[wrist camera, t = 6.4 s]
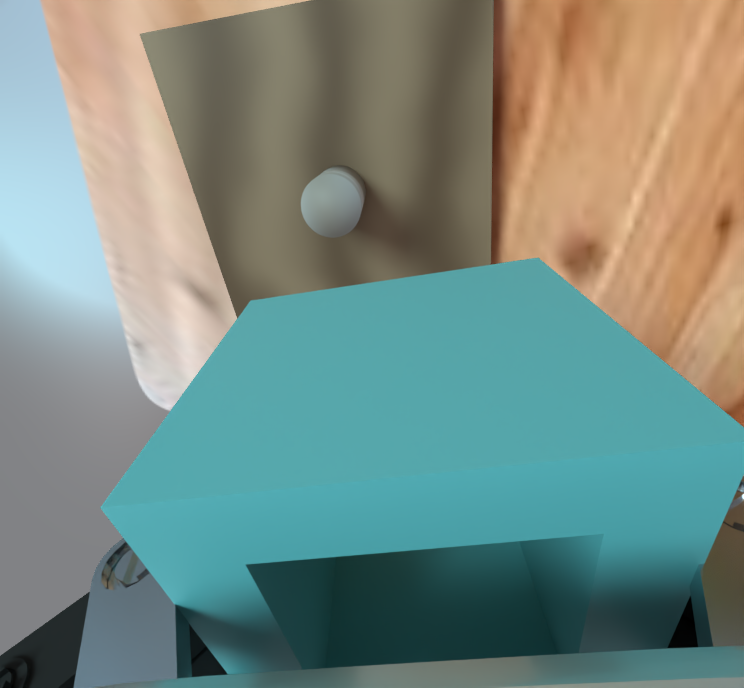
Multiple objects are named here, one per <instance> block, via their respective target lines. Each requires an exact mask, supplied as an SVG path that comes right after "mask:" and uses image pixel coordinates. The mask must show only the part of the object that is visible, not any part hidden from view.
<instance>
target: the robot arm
mask: <svg viewBox="0 0 744 688" xmlns="http://www.w3.org/2000/svg"><path fill="white" fill-rule="evenodd" d="M689 587H690V594H691V595H690V598H689V600H688V602H687V604H686V607H685V609H684V611H683V613H682V616H681V618H680V620H679V622H678V625H677V627H676V629H675V632H674V634H673V636H672V638H671V641H670V643H669V645H668V647H667V648H663V649H649V650H630V651H612V652H594V653H575V654H557V655H539V656H521V657H503V658H486V659H469V660H453V661H436V662H419V663H403V664H386V665H370V666H353V667H337V668H322V669H306V670H291V671H276V672H261V673H245V674H230V675H229V674H227V672H226V671H225V670H224V668H223V667H222V666H221V664H220V663H219V662H218V661H217V659H216V658H215V657H214V655H213V654H212V653H211V651H210V650H209V649H208V647H207V646H206V645H205V644H204V642H203V641H202V640H201V638H200V637H199V636H198V634H197V633H196V632H195V631H194V629H193V628H192V627H191V625H190V624H189V622H188V620H187V619H186V618H185V617H184V615H183V614H182V613H181V611H180V610H179V609H178V607H177V606H176V605H175V604H174V603H173V602H172V601H171V599H170V598H169V597H168V595H167V594H166V593H165V591H164V590H163V589H162V587H161V586H160V585H159V584H158V582H157V581H156V580H155V578H154V577H153V576H152V574H151V573H150V572H149V571H148V569H147V568H146V567H145V565H144V564H143V563H142V561H141V560H140V559H139V557H138V556H137V555H136V554H135V552H134V551H133V550H132V548H131V547H130V546H129V544H128V543H127V542H126V541H125V539H124V538H123V539H122V540H120V541H119V542H118V543H116V544H115V545H114V546H113V547H112V548H111V549H110V550H109V551H108V552H107V553H106V555H104V557H103V558H102V560H101V561H100V563H99V564H98V566H97V567H96V570H95V572H94V576H93V579H92V583H91V589H90V592H89V593H87V594H86V595H84V596H83V597H82V598H80V599H79V600H77V601H76V602H75V603H73V604H72V605H71V606H69V607H68V608H66V609H65V610H64V611H62V612H61V613H59V614H58V615H57V616H55V617H54V618H52V619H51V620H50V621H48V622H47V623H45V624H44V625H43V626H41V627H40V628H39V629H37V630H36V631H34V632H33V633H32V634H30V635H29V636H27V637H26V638H24V639H23V640H22V641H20V642H19V643H18V644H16V645H15V646H13V647H12V648H11V649H9V650H8V651H6V652H5V653H4V654H2V655H1V656H0V688H744V476H743V477H742V480H741V482H740V484H739V486H738V489H737V491H736V493H735V495H734V498H733V500H732V502H731V504H730V507H729V509H728V511H727V514H726V516H725V518H724V520H723V523H722V525H721V527H720V529H719V532H718V534H717V536H716V539H715V541H714V543H713V545H712V548H711V550H710V552H709V554H708V557H707V559H706V561H705V563H704V564H699V565H698V567H697V570H696V572H695V574H694V577H693V579H692V581H691V584H690V586H689Z"/></svg>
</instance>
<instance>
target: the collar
mask: <svg viewBox="0 0 744 688" xmlns="http://www.w3.org/2000/svg"><path fill="white" fill-rule="evenodd" d="M743 475H744V427H743V426H741V425H740V424H739V423H738V422H737V421H735V420H734V419H733V418H732V417H731V416H729V415H728V414H727V413H726V412H724V411H723V410H722V409H721V408H720V407H718V406H717V405H716V404H715V403H714V402H712V401H711V400H710V399H709V398H708V397H706V396H705V395H704V394H703V393H701V392H700V391H699V390H698V389H697V388H695V387H694V386H693V385H692V384H691V383H689V382H688V381H687V380H686V379H684V378H683V377H682V376H681V375H680V374H678V373H677V372H676V371H675V370H674V369H672V368H671V367H670V366H669V365H668V364H666V363H665V362H664V361H663V360H661V359H660V358H659V357H658V356H657V355H655V354H654V353H653V352H652V351H651V350H649V349H648V348H647V347H646V346H644V345H643V344H642V343H641V342H640V341H638V340H637V339H636V338H635V337H634V336H632V335H631V334H630V333H629V332H628V331H626V330H625V329H624V328H623V327H621V326H620V325H619V324H618V323H617V322H615V321H614V320H613V319H612V318H611V317H609V316H608V315H607V314H606V313H604V312H603V311H602V310H601V309H600V308H598V307H597V306H596V305H595V304H594V303H592V302H591V301H590V300H589V299H588V298H586V297H585V296H584V295H583V294H581V293H580V292H579V291H578V290H577V289H575V288H574V287H573V286H572V285H571V284H569V283H568V282H567V281H566V280H564V279H563V278H562V277H561V276H560V275H558V274H557V273H556V272H555V271H554V270H552V269H551V268H550V267H549V266H548V265H546V264H545V263H544V262H543V261H541V260H540V259H539V258H532V259H526V260H519V261H512V262H506V263H499V264H492V265H486V266H479V267H472V268H465V269H459V270H452V271H445V272H439V273H432V274H425V275H419V276H412V277H405V278H399V279H392V280H385V281H379V282H372V283H365V284H358V285H352V286H345V287H338V288H332V289H325V290H318V291H312V292H305V293H298V294H292V295H285V296H278V297H272V298H265V299H258V300H252V301H250V302H249V303H248V305H247V306H246V308H245V309H244V310H243V312H242V313H241V314H240V316H239V317H238V319H237V320H236V321H235V323H234V324H233V326H232V327H231V328H230V330H229V331H228V332H227V334H226V335H225V337H224V338H223V339H222V341H221V342H220V343H219V345H218V346H217V348H216V349H215V350H214V352H213V353H212V354H211V356H210V357H209V359H208V360H207V361H206V363H205V364H204V366H203V367H202V368H201V370H200V371H199V372H198V374H197V375H196V377H195V378H194V379H193V381H192V382H191V383H190V385H189V386H188V388H187V389H186V390H185V392H184V393H183V394H182V396H181V397H180V399H179V400H178V401H177V403H176V404H175V405H174V407H173V408H172V410H171V411H170V412H169V414H168V415H167V417H166V418H165V419H164V421H163V422H162V424H161V425H160V426H159V428H158V429H157V430H156V432H155V433H154V435H153V436H152V437H151V439H150V440H149V442H148V443H147V444H146V446H145V447H144V448H143V450H142V451H141V452H140V454H139V455H138V457H137V458H136V459H135V461H134V462H133V463H132V465H131V466H130V468H129V469H128V470H127V472H126V473H125V474H124V476H123V477H122V479H121V480H120V481H119V483H118V484H117V486H116V487H115V488H114V490H113V491H112V492H111V494H110V495H109V496H108V498H107V499H106V501H105V502H104V503H103V505H102V506H101V509H102V510H103V512H104V513H105V514H106V516H107V517H108V518H109V520H110V521H111V522H112V524H113V525H114V526H115V527H116V529H117V530H118V531H119V532H120V534H121V535H122V537H123V538H124V539H125V541H126V542H127V543H128V544H129V546H130V547H131V548H132V550H133V551H134V552H135V554H136V555H137V556H138V557H139V559H140V560H141V561H142V563H143V564H144V565H145V567H146V568H147V569H148V571H149V572H150V573H151V574H152V576H153V577H154V578H155V580H156V581H157V582H158V584H159V585H160V586H161V587H162V589H163V590H164V591H165V593H166V594H167V595H168V597H169V598H170V599H171V601H172V602H173V603H174V604H175V605H176V606H177V607H178V609H179V610H180V611H181V613H182V614H183V615H184V617H185V618H186V619H187V620H188V622H189V624H190V625H191V627H192V628H193V629H194V631H195V632H196V633H197V634H198V636H199V637H200V638H201V640H202V641H203V642H204V644H205V645H206V646H207V647H208V649H209V650H210V651H211V653H212V654H213V655H214V657H215V658H216V659H217V661H218V662H219V663H220V664H221V666H222V667H223V668H224V670H225V671H226V672H227V674H229V675H230V674H245V673H261V672H276V671H291V670H306V669H322V668H337V667H353V666H370V665H386V664H403V663H419V662H436V661H453V660H469V659H486V658H503V657H521V656H539V655H557V654H575V653H594V652H612V651H630V650H649V649H663V648H667V647H668V645H669V643H670V641H671V638H672V636H673V634H674V632H675V629H676V627H677V625H678V622H679V620H680V618H681V616H682V613H683V611H684V609H685V607H686V604H687V602H688V600H689V598H690V595H691V594H690V587H689V586H690V584H691V581H692V579H693V577H694V574H695V572H696V570H697V567H698V565H699V564H704V563H705V561H706V559H707V557H708V554H709V552H710V550H711V548H712V545H713V543H714V541H715V539H716V536H717V534H718V532H719V529H720V527H721V525H722V523H723V520H724V518H725V516H726V514H727V511H728V509H729V507H730V504H731V502H732V500H733V498H734V495H735V493H736V491H737V489H738V486H739V484H740V482H741V480H742V477H743Z"/></svg>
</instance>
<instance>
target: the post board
mask: <svg viewBox="0 0 744 688" xmlns="http://www.w3.org/2000/svg"><path fill="white" fill-rule="evenodd" d="M493 14H494V0H311V1H306V2H301V3H295V4H290V5H285V6H280V7H275V8H270V9H265V10H260V11H254V12H249V13H244V14H239V15H234V16H229V17H224V18H219V19H214V20H208V21H203V22H198V23H193V24H188V25H183V26H178V27H173V28H168V29H162V30H157V31H152V32H147V33H142V34H140V36H141V39H142V42H143V45H144V48H145V51H146V54H147V57H148V59H149V62H150V65H151V68H152V71H153V74H154V77H155V80H156V83H157V86H158V89H159V92H160V94H161V97H162V100H163V103H164V106H165V109H166V112H167V115H168V118H169V121H170V124H171V126H172V129H173V132H174V135H175V138H176V141H177V144H178V147H179V150H180V153H181V156H182V159H183V161H184V164H185V167H186V170H187V173H188V176H189V179H190V182H191V185H192V188H193V191H194V193H195V196H196V199H197V202H198V205H199V208H200V211H201V214H202V217H203V220H204V223H205V226H206V228H207V231H208V234H209V237H210V240H211V243H212V246H213V249H214V252H215V255H216V258H217V260H218V263H219V266H220V269H221V272H222V275H223V278H224V281H225V284H226V287H227V290H228V293H229V295H230V298H231V301H232V304H233V307H234V310H235V313H236V316H237V319H238V317H239V316H240V314H241V313H242V312H243V310H244V309H245V308H246V306H247V305H248V303H249V302H250V301H252V300H258V299H265V298H272V297H278V296H285V295H292V294H298V293H305V292H312V291H318V290H325V289H332V288H338V287H345V286H352V285H358V284H365V283H372V282H379V281H385V280H392V279H399V278H405V277H412V276H419V275H425V274H432V273H439V272H445V271H452V270H459V269H465V268H472V267H479V266H486V265H491V206H492V110H493Z"/></svg>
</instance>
